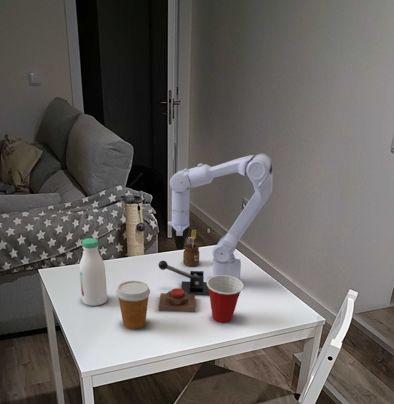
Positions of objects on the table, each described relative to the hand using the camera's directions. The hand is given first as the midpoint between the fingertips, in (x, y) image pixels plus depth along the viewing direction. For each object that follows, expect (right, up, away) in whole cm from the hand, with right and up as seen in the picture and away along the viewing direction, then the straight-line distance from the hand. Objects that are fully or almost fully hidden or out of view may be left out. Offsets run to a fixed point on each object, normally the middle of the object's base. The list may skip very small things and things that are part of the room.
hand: (179, 248), depth 167 cm
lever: (0, -10, -6) cm, 11 cm away
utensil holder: (+4, -3, +16) cm, 17 cm away
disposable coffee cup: (-12, -26, -24) cm, 38 cm away
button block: (0, -20, -13) cm, 23 cm away
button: (0, -17, -14) cm, 22 cm away
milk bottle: (-26, -19, -12) cm, 34 cm away
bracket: (+6, -14, -3) cm, 16 cm away
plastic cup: (+14, -25, -19) cm, 34 cm away
